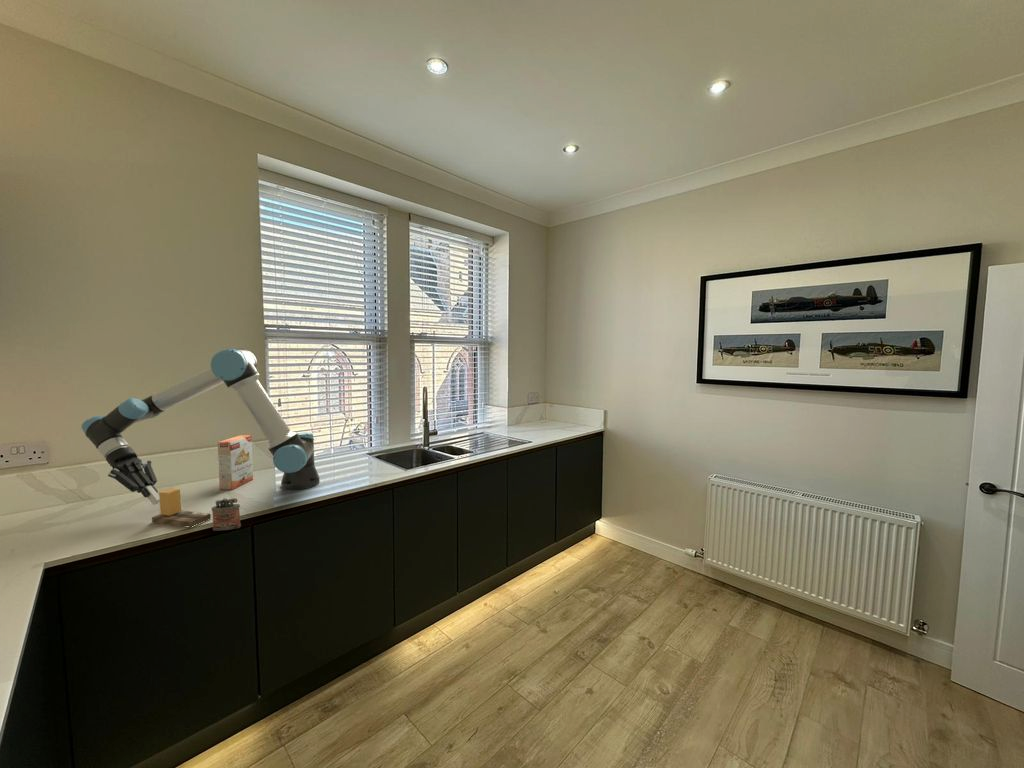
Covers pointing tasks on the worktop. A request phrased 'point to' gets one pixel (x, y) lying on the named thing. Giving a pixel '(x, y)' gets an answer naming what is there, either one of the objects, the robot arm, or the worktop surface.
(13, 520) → the worktop surface
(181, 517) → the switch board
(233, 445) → the cracker box
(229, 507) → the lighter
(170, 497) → the orange rectangular block
